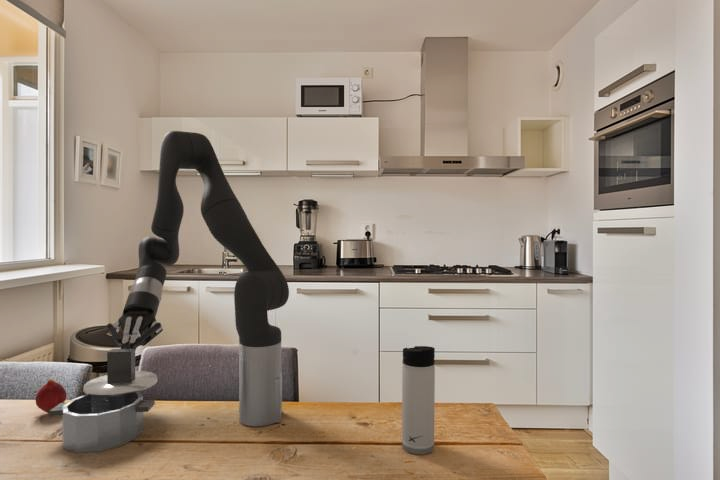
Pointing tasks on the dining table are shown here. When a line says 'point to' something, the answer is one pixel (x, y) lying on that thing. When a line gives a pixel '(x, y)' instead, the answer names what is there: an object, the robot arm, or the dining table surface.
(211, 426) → the dining table surface
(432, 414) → the travel mug
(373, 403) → the dining table surface
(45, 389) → the onion
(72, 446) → the pot
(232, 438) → the dining table surface
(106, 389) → the lid
